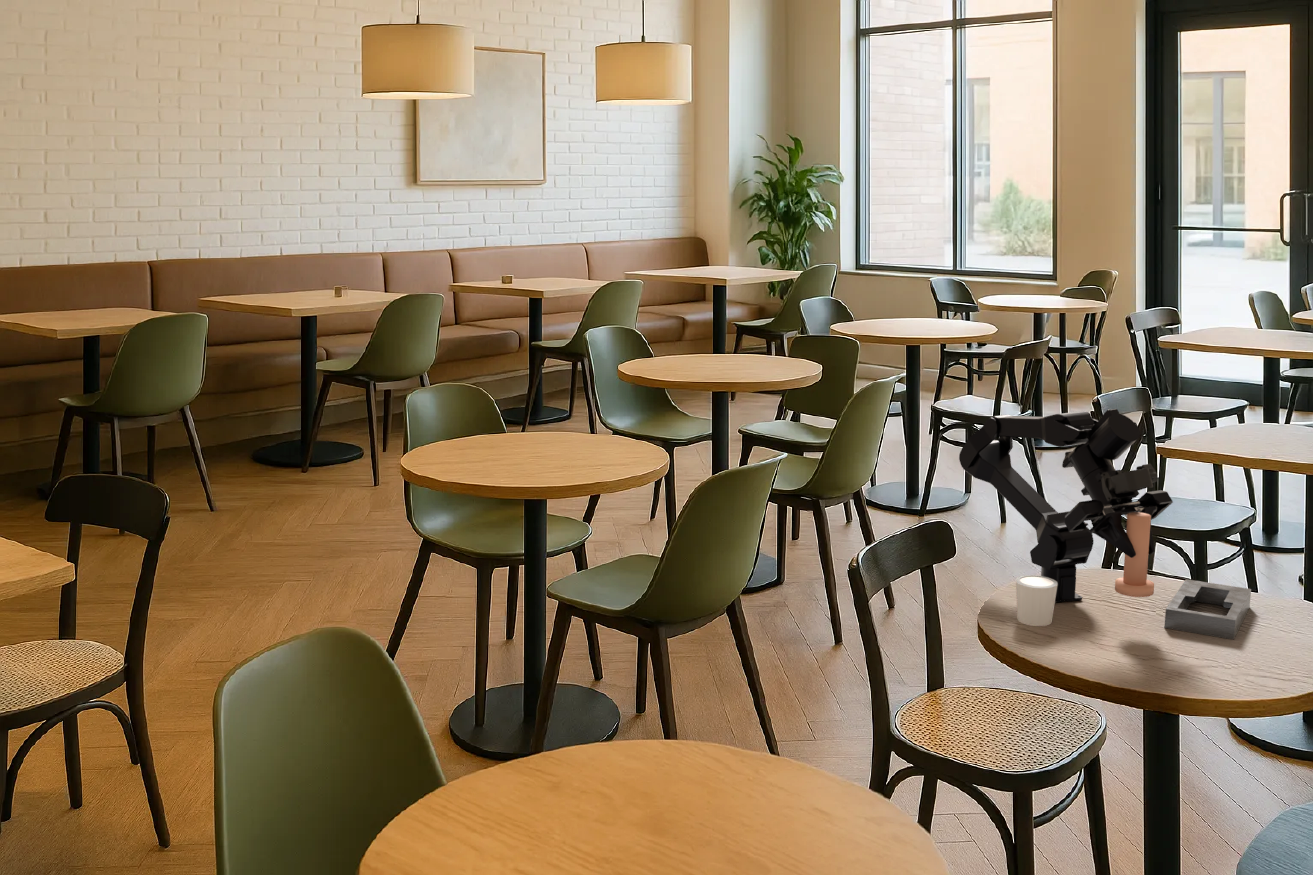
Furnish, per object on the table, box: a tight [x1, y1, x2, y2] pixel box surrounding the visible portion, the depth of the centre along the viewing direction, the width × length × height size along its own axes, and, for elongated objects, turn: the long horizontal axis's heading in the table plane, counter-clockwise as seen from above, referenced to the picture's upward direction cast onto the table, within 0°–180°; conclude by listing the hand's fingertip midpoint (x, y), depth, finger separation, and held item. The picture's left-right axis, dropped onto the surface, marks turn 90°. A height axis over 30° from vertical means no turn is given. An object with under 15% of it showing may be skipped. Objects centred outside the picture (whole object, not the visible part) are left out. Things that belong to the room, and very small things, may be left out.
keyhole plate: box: [1164, 579, 1252, 640], centre depth 209 cm, size 18×11×3 cm, turn 147°
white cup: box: [1015, 575, 1058, 627], centre depth 208 cm, size 7×7×7 cm
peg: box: [1114, 512, 1155, 598], centre depth 202 cm, size 6×6×13 cm
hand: (1143, 554), depth 201 cm, fingers closed on peg, 4 cm apart
